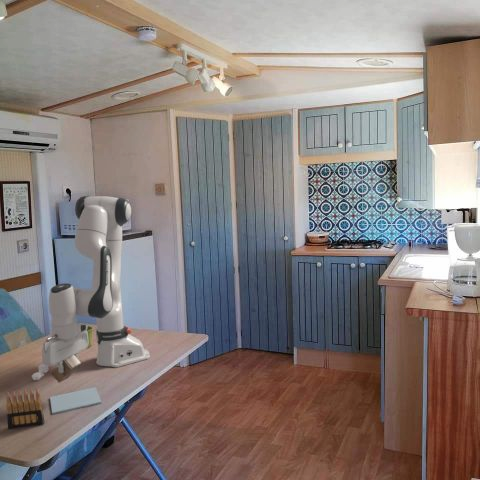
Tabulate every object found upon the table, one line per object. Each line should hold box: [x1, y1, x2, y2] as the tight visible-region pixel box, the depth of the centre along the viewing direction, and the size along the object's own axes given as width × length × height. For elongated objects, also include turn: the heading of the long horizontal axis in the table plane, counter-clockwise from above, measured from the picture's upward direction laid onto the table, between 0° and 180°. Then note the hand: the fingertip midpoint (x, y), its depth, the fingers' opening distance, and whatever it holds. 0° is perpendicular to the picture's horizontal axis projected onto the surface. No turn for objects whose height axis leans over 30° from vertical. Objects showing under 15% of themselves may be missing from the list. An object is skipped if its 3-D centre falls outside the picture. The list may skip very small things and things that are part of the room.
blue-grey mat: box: [49, 386, 102, 415], centre depth 174 cm, size 16×14×1 cm
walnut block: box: [50, 355, 81, 384], centre depth 174 cm, size 4×4×9 cm
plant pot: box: [86, 325, 94, 349], centre depth 233 cm, size 9×9×9 cm
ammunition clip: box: [5, 388, 45, 430], centre depth 157 cm, size 11×2×12 cm, turn 100°
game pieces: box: [31, 363, 49, 382], centre depth 200 cm, size 12×3×3 cm, turn 5°
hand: (67, 369), depth 174 cm, fingers closed on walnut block, 4 cm apart
